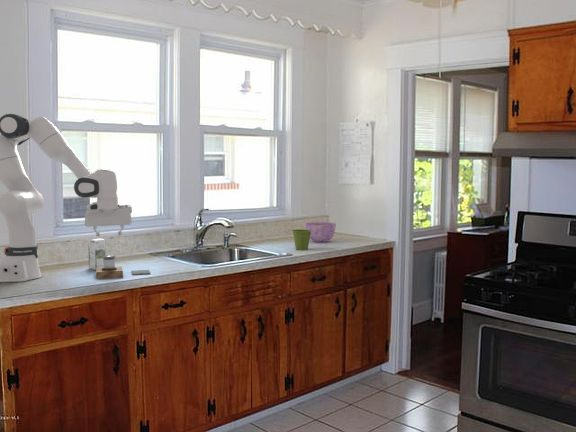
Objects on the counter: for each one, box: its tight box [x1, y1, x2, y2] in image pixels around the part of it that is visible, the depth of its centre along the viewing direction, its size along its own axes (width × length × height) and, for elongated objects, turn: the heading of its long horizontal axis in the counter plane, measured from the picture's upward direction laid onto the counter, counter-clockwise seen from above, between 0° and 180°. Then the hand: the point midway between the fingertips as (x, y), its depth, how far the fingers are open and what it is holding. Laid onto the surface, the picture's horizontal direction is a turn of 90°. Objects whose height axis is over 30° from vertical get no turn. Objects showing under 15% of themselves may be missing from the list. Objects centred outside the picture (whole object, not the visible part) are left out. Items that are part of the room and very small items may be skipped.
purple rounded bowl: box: [305, 221, 337, 243], centre depth 378 cm, size 20×20×12 cm
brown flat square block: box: [95, 266, 124, 280], centre depth 265 cm, size 11×11×3 cm
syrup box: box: [88, 237, 106, 271], centre depth 282 cm, size 6×6×14 cm
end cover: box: [102, 254, 116, 271], centre depth 265 cm, size 6×6×9 cm
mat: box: [131, 269, 151, 276], centre depth 272 cm, size 8×8×1 cm
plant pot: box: [291, 228, 312, 251], centre depth 345 cm, size 12×12×11 cm
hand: (108, 235), depth 264 cm, fingers open, 8 cm apart
